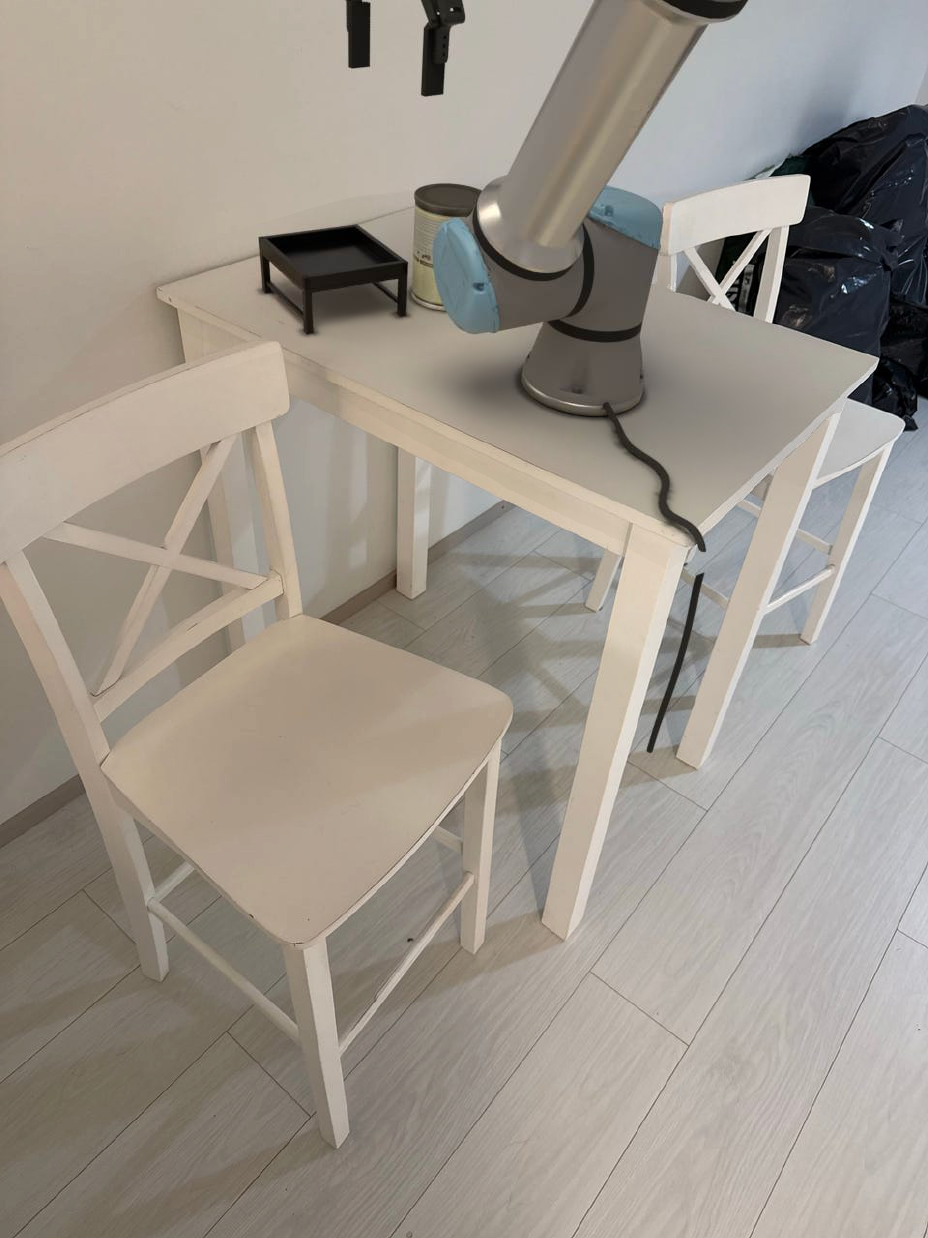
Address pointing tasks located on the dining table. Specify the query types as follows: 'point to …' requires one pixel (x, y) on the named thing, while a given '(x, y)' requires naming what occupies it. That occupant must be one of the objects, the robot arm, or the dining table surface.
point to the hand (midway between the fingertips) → (394, 80)
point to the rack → (331, 265)
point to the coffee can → (429, 214)
